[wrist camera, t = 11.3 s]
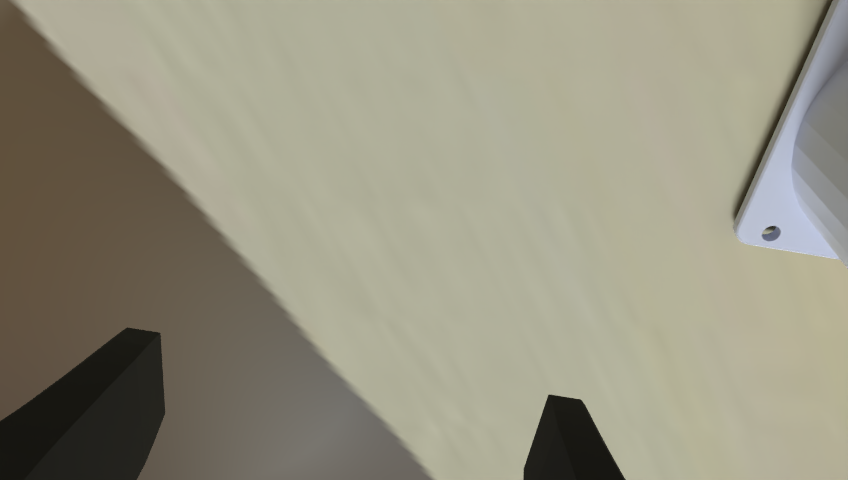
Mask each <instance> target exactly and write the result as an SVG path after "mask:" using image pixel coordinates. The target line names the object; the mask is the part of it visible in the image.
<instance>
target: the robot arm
mask: <svg viewBox="0 0 848 480" xmlns="http://www.w3.org/2000/svg"><path fill="white" fill-rule="evenodd" d="M769 226H776V228H775V229H774V231H773V232H771V233H769V234H762V232H763V231H764V229H765V228H767V227H769ZM733 230H734V233H735V235H736V236H737V238H738V239H739V240H740V241H741V242H742V243H745V244H748V245H754V246H760V247H767V248H773V249H779V250H785V251H791V252H797V253H803V254H809V255H815V256H821V257H827V258H833V259H839V260H841V261H842V262H843V264H844V265H845V266H846V267H847V269H848V0H833V1H832V3H831V6H830V8H829V10H828V12H827V15H826V17H825V19H824V21H823V24H822V26H821V28H820V30H819V33H818V35H817V37H816V39H815V42H814V44H813V46H812V48H811V51H810V53H809V55H808V57H807V60H806V62H805V64H804V66H803V69H802V71H801V73H800V75H799V78H798V80H797V82H796V84H795V87H794V89H793V91H792V93H791V95H790V98H789V100H788V102H787V104H786V107H785V109H784V111H783V113H782V116H781V118H780V120H779V122H778V125H777V127H776V129H775V131H774V134H773V136H772V138H771V140H770V143H769V145H768V147H767V149H766V152H765V154H764V156H763V158H762V161H761V163H760V165H759V167H758V170H757V172H756V174H755V176H754V179H753V181H752V183H751V185H750V188H749V190H748V192H747V194H746V197H745V199H744V201H743V203H742V206H741V208H740V210H739V212H738V215H737V217H736V219H735V221H734V225H733ZM164 415H165V403H164V388H163V370H162V354H161V336H160V333H158V332H152V331H145V330H139V329H132V328H126V329H125V330H123V331H122V332H120V333H119V334H117V335H116V336H115V337H114V338H112V339H111V340H110V341H108V342H107V343H106V344H104V345H103V346H102V347H101V348H99V349H98V350H97V351H95V352H94V353H93V354H92V355H90V356H89V357H88V358H86V359H85V360H84V361H83V362H81V363H80V364H79V365H77V366H76V367H75V368H73V369H72V370H71V371H70V372H68V373H67V374H66V375H64V376H63V377H62V378H60V379H59V380H58V381H56V382H55V383H54V384H52V385H51V386H49V387H48V388H47V389H45V390H44V391H43V392H41V393H40V394H39V395H37V396H36V397H35V398H33V399H32V400H30V401H29V402H28V403H26V404H25V405H23V406H22V407H21V408H19V409H18V410H16V411H15V412H14V413H12V414H11V415H9V416H7V417H6V418H4V419H3V420H1V421H0V480H137V478H138V476H139V474H140V472H141V470H142V469H143V466H144V465H145V462H146V460H147V458H148V455H149V453H150V450H151V448H152V446H153V443H154V440H155V438H156V435H157V433H158V430H159V428H160V425H161V422H162V420H163V417H164ZM524 480H625V478H624V476H623V475H622V473H621V471H620V469H619V468H618V466H617V464H616V462H615V461H614V459H613V457H612V455H611V453H610V452H609V450H608V448H607V446H606V444H605V442H604V441H603V439H602V437H601V435H600V433H599V431H598V429H597V427H596V425H595V423H594V422H593V420H592V418H591V416H590V414H589V412H588V410H587V408H586V406H585V404H584V403H583V402H582V400H580V399H574V398H567V397H561V396H555V395H548V398H547V401H546V404H545V407H544V410H543V413H542V416H541V419H540V422H539V425H538V428H537V431H536V434H535V437H534V440H533V443H532V446H531V449H530V452H529V455H528V458H527V461H526V464H525V467H524Z"/></svg>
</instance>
